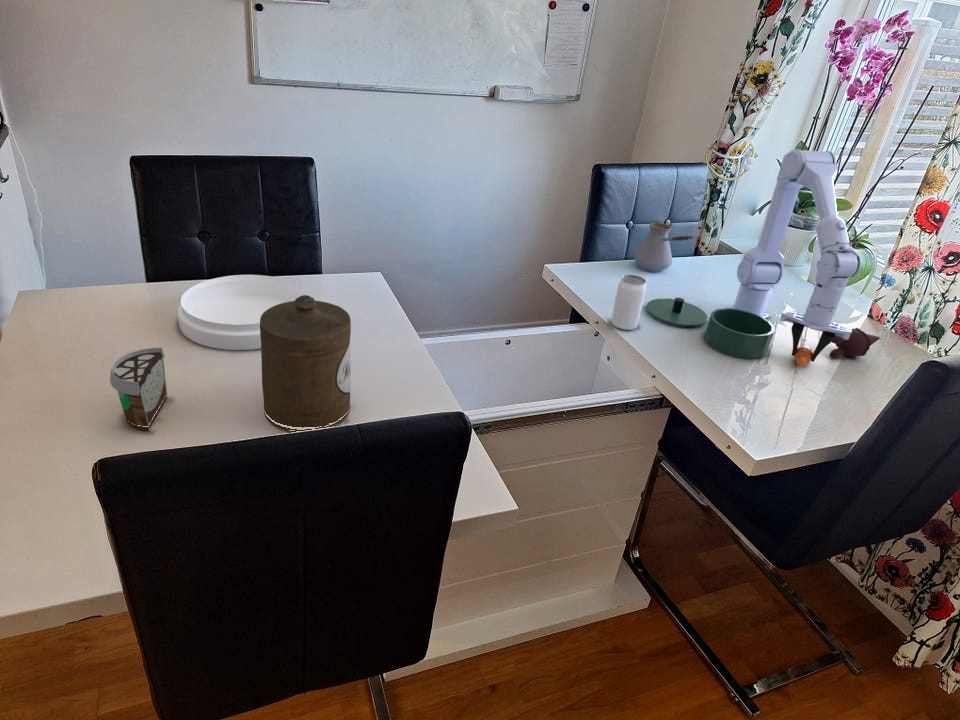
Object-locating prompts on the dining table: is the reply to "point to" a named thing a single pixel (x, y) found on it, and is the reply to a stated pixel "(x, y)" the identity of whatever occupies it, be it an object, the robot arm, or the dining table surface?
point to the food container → (140, 386)
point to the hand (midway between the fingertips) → (802, 356)
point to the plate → (232, 309)
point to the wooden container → (305, 363)
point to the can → (628, 302)
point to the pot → (739, 333)
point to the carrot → (803, 355)
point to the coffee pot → (656, 248)
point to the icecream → (853, 344)
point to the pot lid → (676, 312)
